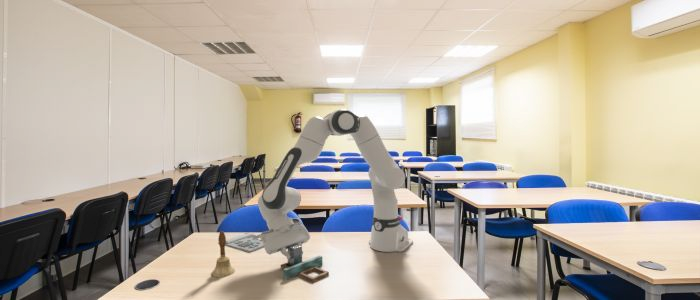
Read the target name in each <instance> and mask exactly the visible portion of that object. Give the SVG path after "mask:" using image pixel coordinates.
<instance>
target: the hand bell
mask: <svg viewBox="0 0 700 300" xmlns="http://www.w3.org/2000/svg"><path fill="white" fill-rule="evenodd" d="M226 239H227V237H226V235H225V232H224V230H220V231H219V234H218V245H219V250H220V251H219V253H220V254H219V255H220V256H219V257H218V258H216V265H215V267H214V269H213V270H212V271H211V276H213V277H214V278H223V277H228V276H231V275H233V274H234V273H235V271H236V270H235V268H234V267H233V266H232V265H231V262H230V257H229V256H226V249H225V248H226V247H225V246H226V245H225V243H226Z"/></svg>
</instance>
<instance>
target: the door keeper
mask: <svg viewBox="0 0 700 300" xmlns="http://www.w3.org/2000/svg"><path fill="white" fill-rule="evenodd" d="M321 266H323V255H318V256H315V257H312V258H309V259H307V260H304V261H303V260H302V262H301V263H299V264H296V265H293V266H291V267H288V261H287V262H285V263H284V262H283V263H282V264H280V268H281V269H282V270H283V279H284V280H290V279H291V278H294V277H296V276H298V277H300V278H302V279H303V280H305V281H308V282H311V283H315V282H317V281H319V280H321V279H323V278H326V277H328V276H329V275H330V272H329V271H327V270H325V269H323V268H320V267H321ZM313 272H317V273H318V275H315V276H311V275H308V274H311V273H313Z"/></svg>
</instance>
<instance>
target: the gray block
mask: <svg viewBox="0 0 700 300" xmlns="http://www.w3.org/2000/svg"><path fill="white" fill-rule="evenodd" d="M302 251H303V245H302V246H300V245H297V244H294V245H291V246H288V249H287V252H288V253H291V255H292V258H291V259H289V260H288V259H287V262H288V267H291V266H293V265H296V264H299V263H301V262H302V261H303V254H302Z"/></svg>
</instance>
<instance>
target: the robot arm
mask: <svg viewBox="0 0 700 300" xmlns="http://www.w3.org/2000/svg"><path fill="white" fill-rule="evenodd" d="M344 135H349V136H351V137H352V138H353V140H354V142H355V144H356V146H357V148H358V150H359V152H360V154H361V157H362V158H363V159H364V161H365V162H366V163H367V165H368V166H369V169H368V178H369V180H370V185H371V191H372V197H373V216H372V226H371V233H370V239H369V241H368V243H369V247H370V248H371V249H372V250H375V251H378V252H384V253H385V252H386V253H388V252H389V253H390V252H391V253H392V252H399V253H401V252H404V251H406V249H407V248H409V247H410V246H411V245H412V244H413V243H414V240H413V239H411V238H409V233H408V230H407V228H405V227H404V226H402V224H401V222H400V221H403V220H404V219H403V218H404V217H403V215H402V216H401V215H398V214H399V212H398V210H399V209H398V206H399V205H398V201H399V200H398V198H397V195H396V191H395V190H398V189H400V188H402V186H403V185H404V184H405V182H406V181H405V180H406V175H405V174H406V173H405V172H404V171H403V170H402V169H401V168H400V166H399V165H398V164H397V162H396V161H395V160H394V158H393V157H392V155H391V154H390V153H389V150H388V149H387V148H386V146H385V144H384V142H383V140H382V138H381V136H380V134H379V132H378V131H377V129H376V127H375V125H374V123H373V122H372V120H371V119H370V118H369V117H368V116H366V115H365V114H364V115H363V114H361V115H356V114H355V113H353V112H352V111H350V110H349V109H345V108H342V109H341V108H340V109H337V110H334V111H332V112H331V113H329V114H327V115H326V116H324V117H320V116H312V117H310V118H309V119H308V121H307V122H306V124H305V125H304V127H303V128H302V131H301V133H300V135H299V137H298V138H297V141H296V143H295V144H294V146H293V147H292V148H291V149H290V150H289V151H288V152H287V153H286V155H285V156H284V158H283V159H282V161H281V163H280V165H279V166H278V169H276V171H275V173H274V175H273V177H272V178H271V180H270V181H269V182H268V184H266V186H265V187H264V189H263V191H262V193H261V195H260V196H259V198H258V200H257V205H258V209H259V211H260V214H261V216H262V218H263V220H264V221H265V222H266V226H267V228H268V230H265V231H262V232H261V233H260V234H261V235H260V237H259V239H260V240H262V241H263V245H264V247H263V248H264V250H265V252H266V254H268V255H273V254H275V253H278V252H280V254H281V255H283V256H284V257H285V258H286V259H287V261H288V260H289V259H291V258H292V255H291V253H288V246H291V245H294V244H297V245H300V246H302V247H303V245H304V244H306V243H307V242H309V241H310V239H311V234H310V233H309V231H308V229H307V228H306V226H305V225H304V224H302V220H301V219H300V218H297V217H289V216H288V215H287V214H288V213H291V212H293V211H294V210H296V209H297V208H299V206H300V204H301V201H302V196H301V193H300V191H299V190H298V189H296V188H294V187H290V186H287V185H288V183H290V180H291V178H292V177H293V175H294V172H295V171H296V169H297V168H298V167H300V166H301V165H304V164H306V163H307V164H308V163H311V162H313V161H316V160H317V159H318V158H319V157H320V155H321V153H322V151H323V148H324V146H325V144H326V141H327V139H328V138H329V137H330V136H344ZM303 254H304V250H302V255H303Z"/></svg>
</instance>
